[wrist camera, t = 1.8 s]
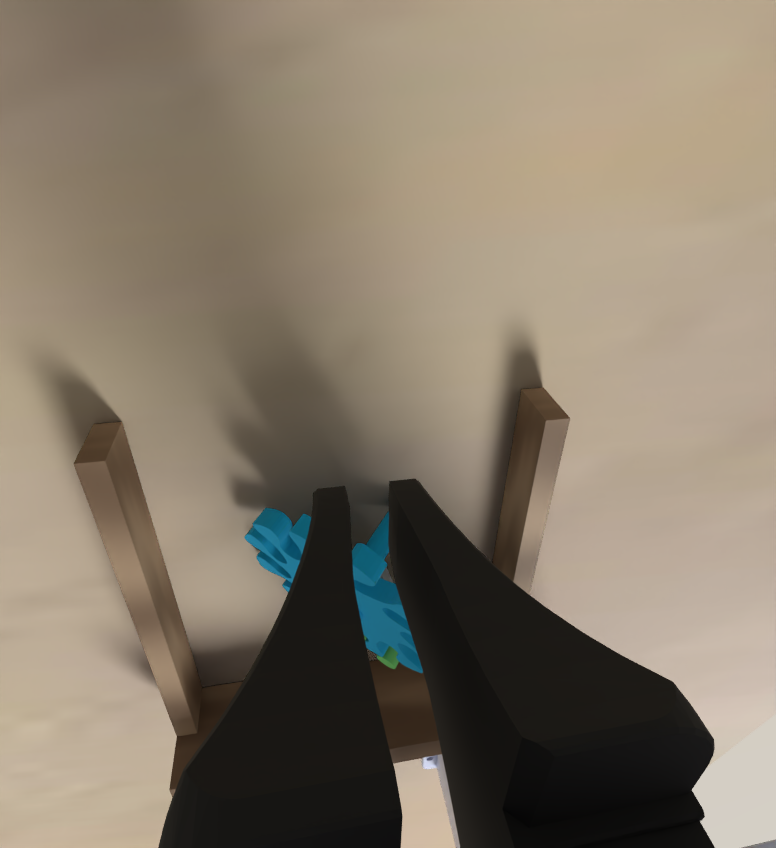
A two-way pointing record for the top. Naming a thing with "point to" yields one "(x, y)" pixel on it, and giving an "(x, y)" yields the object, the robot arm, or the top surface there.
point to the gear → (371, 582)
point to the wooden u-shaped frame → (395, 688)
